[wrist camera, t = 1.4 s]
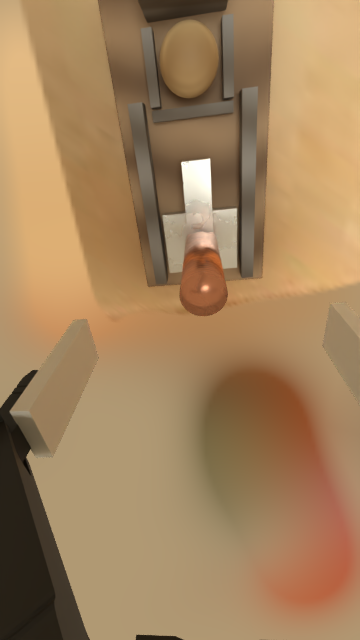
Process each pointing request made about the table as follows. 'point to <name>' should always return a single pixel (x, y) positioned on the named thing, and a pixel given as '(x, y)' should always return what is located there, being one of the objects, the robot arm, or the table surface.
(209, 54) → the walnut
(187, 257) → the lever handle
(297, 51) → the table surface
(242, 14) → the base
